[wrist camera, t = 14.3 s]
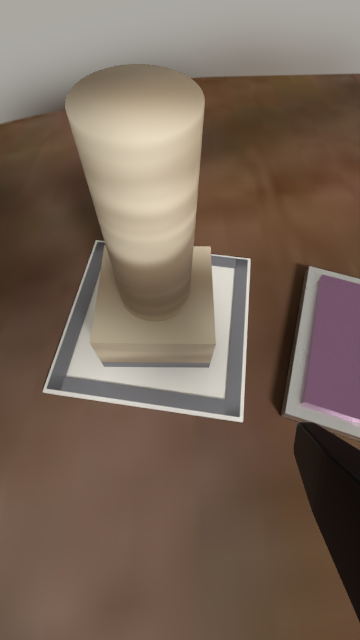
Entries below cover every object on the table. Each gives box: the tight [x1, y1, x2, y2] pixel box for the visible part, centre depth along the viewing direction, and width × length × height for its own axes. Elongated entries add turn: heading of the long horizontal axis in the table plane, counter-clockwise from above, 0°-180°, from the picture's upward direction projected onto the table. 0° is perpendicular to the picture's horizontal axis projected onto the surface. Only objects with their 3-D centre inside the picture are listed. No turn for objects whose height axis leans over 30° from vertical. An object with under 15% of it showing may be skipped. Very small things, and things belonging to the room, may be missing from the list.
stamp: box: [65, 64, 216, 368], centre depth 14 cm, size 6×6×12 cm
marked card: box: [43, 240, 251, 422], centre depth 19 cm, size 11×11×1 cm
